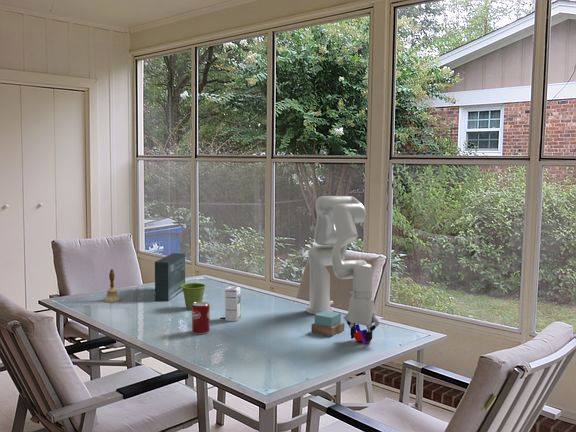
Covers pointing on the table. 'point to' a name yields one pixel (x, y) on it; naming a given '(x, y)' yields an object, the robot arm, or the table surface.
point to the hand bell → (112, 290)
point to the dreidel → (360, 335)
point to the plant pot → (193, 293)
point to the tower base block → (327, 329)
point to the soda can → (200, 317)
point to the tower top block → (327, 318)
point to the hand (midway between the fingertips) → (361, 338)
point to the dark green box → (169, 276)
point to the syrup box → (232, 304)
